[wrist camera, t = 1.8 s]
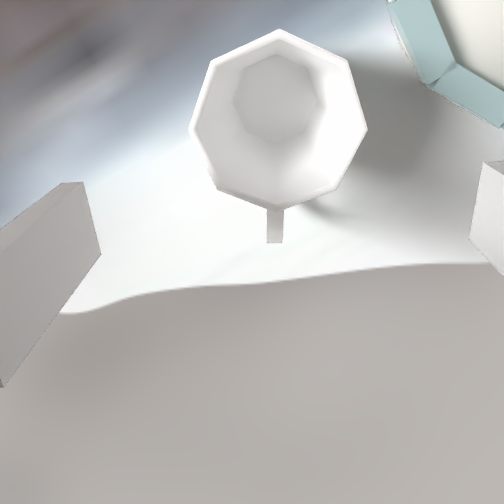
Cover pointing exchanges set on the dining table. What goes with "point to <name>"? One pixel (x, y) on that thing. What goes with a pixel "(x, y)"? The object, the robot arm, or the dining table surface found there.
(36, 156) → the dining table surface
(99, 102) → the dining table surface
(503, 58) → the saucer
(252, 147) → the cup
